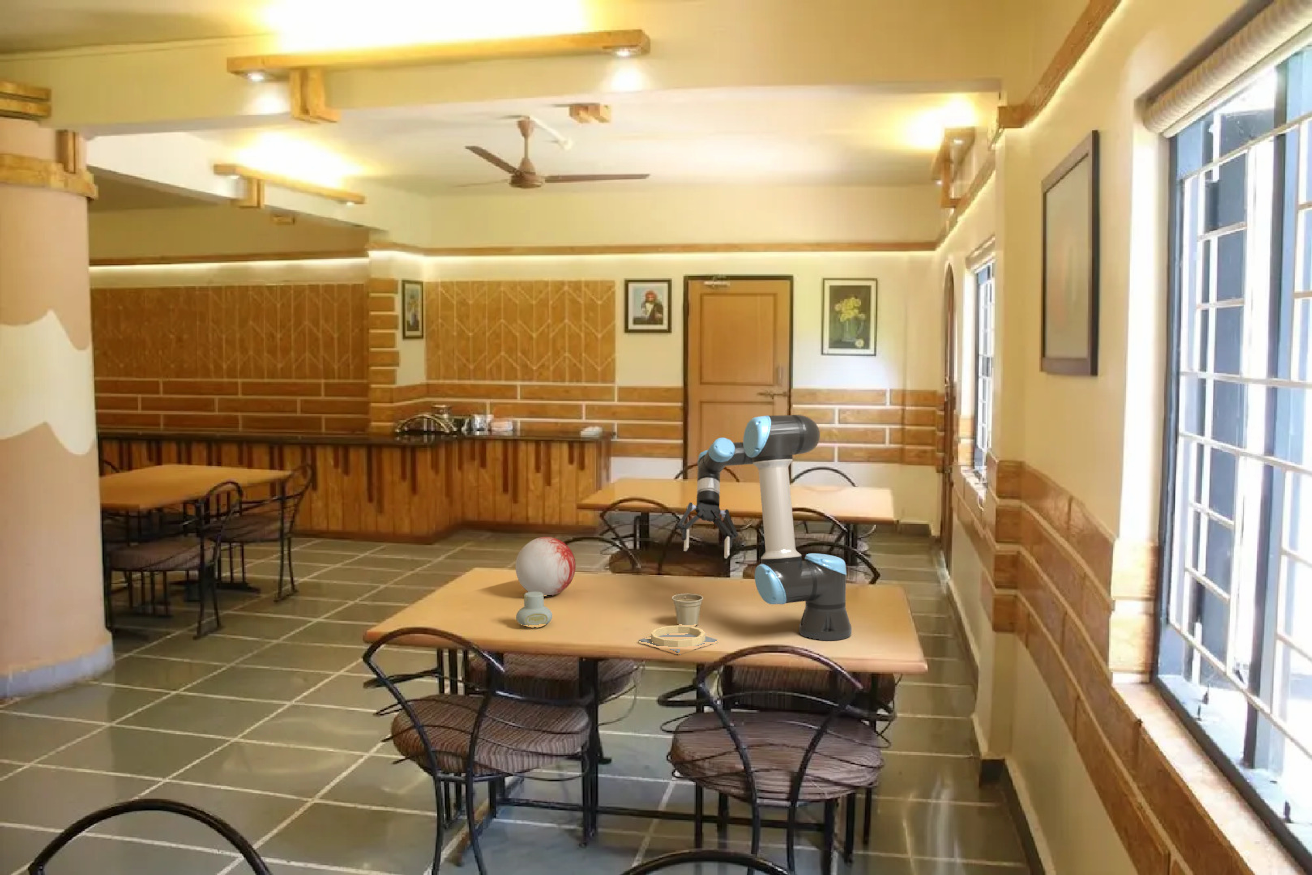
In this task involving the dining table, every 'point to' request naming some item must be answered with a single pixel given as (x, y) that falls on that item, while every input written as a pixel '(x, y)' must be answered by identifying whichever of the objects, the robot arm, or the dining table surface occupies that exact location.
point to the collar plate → (692, 632)
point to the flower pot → (687, 608)
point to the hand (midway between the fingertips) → (706, 553)
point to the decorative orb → (545, 566)
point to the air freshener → (534, 610)
